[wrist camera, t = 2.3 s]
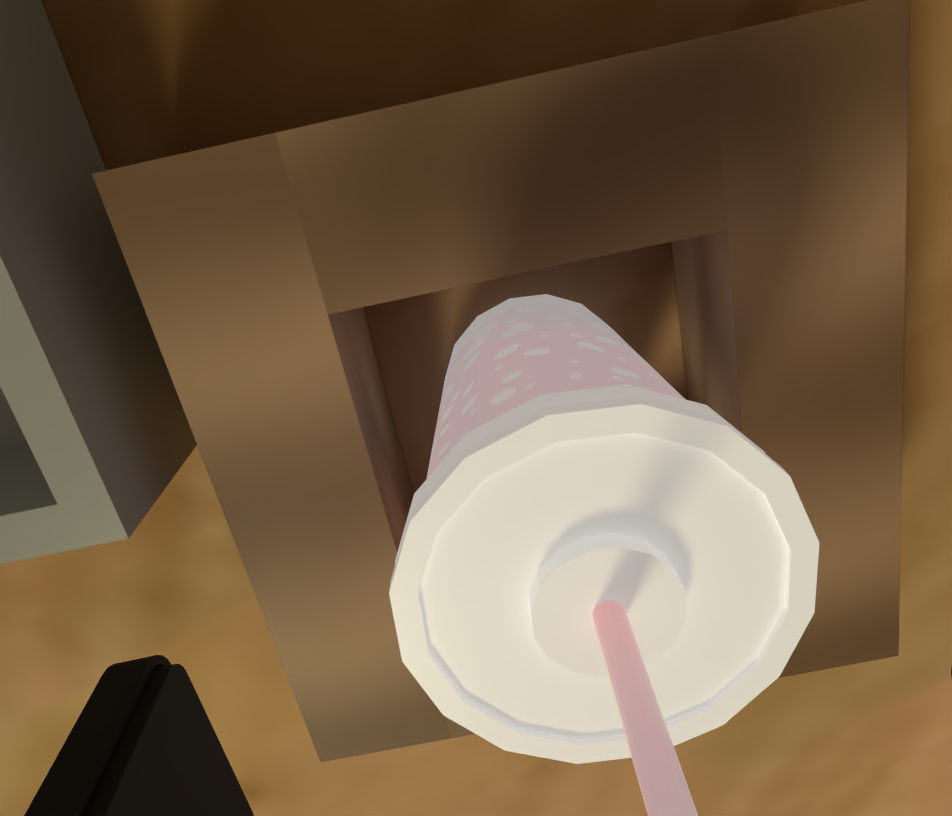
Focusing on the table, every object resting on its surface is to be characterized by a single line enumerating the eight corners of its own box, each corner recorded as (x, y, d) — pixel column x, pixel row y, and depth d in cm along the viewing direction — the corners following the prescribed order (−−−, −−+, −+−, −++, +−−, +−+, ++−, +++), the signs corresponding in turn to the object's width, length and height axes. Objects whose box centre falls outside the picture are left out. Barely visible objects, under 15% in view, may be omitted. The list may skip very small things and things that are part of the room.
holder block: (819, 558, 21) (898, 655, 17) (342, 650, 22) (320, 762, 18) (802, 16, 16) (910, -10, 12) (171, 157, 16) (92, 174, 13)
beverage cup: (634, 495, 20) (971, 1198, 7) (409, 483, 20) (336, 1204, 7) (676, 272, 18) (1278, 717, 5) (421, 253, 17) (346, 683, 5)
